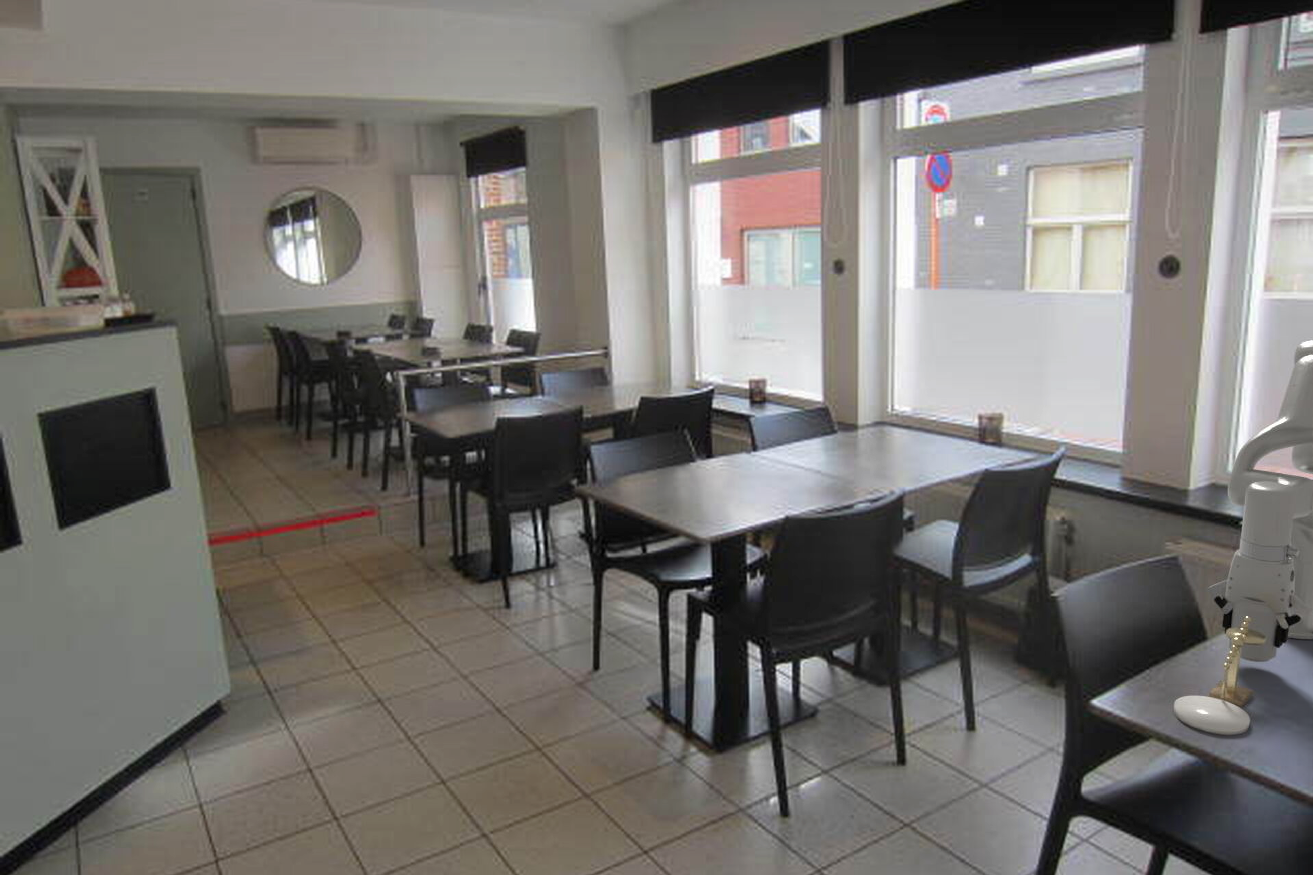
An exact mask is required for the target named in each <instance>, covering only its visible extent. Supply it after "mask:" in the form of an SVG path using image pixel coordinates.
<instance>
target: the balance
mask: <svg viewBox="0 0 1313 875" xmlns="http://www.w3.org/2000/svg"><path fill="white" fill-rule="evenodd" d="M1244 621H1245V622H1244V623H1242V627H1243V628H1229V629H1227V630H1226V634H1225V636H1226V637H1227V638H1228V639H1229V640H1230V639H1231V644H1232V646H1231V650H1230V651H1229V652H1228V653H1227V655H1228V657H1226V658H1225V663H1223V664H1222V669H1223V673H1222V674H1223V676H1222V681H1219V683H1218V684H1216V686H1214V687H1213V688H1212V689H1211V691H1210V692H1209V696H1208V697H1212V698H1216V699H1220V700H1223V701H1226V702H1229V703H1231V704H1233V705H1236V706H1237V707H1239V708H1242V707H1244V705H1245V704H1247V702H1248V701H1249V700H1250V698H1252V696H1253V690H1252V689H1249V688H1245V687H1241V686H1238V680H1239V679H1238V678H1239V670H1240V663H1241V658H1240V656H1241V648H1242V646H1243V644H1249V645H1261V644H1264V643H1265V642H1266V637H1265V636H1264V635H1263V634H1261V633H1259V632H1257V631H1254V630H1251V629H1248V628H1249V623H1250V622H1251V618H1250V617H1245V618H1244Z"/></svg>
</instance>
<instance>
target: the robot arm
mask: <svg viewBox="0 0 1313 875" xmlns="http://www.w3.org/2000/svg"><path fill="white" fill-rule="evenodd" d="M1294 352H1295V353H1294V359H1293V362H1294V363H1293V365H1294V367H1293V370H1292V371H1291V375H1290V378H1289V381H1288V385H1287V388H1286V392H1285V394H1284V398H1283V401H1282V402H1281V403H1282V404H1281V406H1280V409H1279V412H1278V413H1279V414H1278V417H1277V419H1276V421H1275V422H1274V423H1272V424H1270V425H1268V426H1267V427H1266V426H1265V428H1263V429H1261V430H1260V431H1258V432H1257V433H1256V434H1254V435H1253V436H1252V437H1251V438H1250V439H1248V440H1247V442H1245V443H1244V444H1243V446H1242V447H1241V449H1239V452H1238V454H1237V456H1236V459H1235V461H1234V464H1233V466H1232V470H1231V473H1230V477H1229V481H1228V485H1227V496H1228V499H1229V501H1230V502H1231V503H1232V504H1234V505H1235V506H1238V507H1240V508H1243V517H1242V523H1241V525H1242V526H1241V535H1240V540H1239V541H1240V542H1239V549H1236V551H1235V552H1234V555H1233V558H1232V561H1231V563H1230V567H1229V571H1228V575H1227V579H1226V580H1223V581H1219V582H1217V583H1214V584H1213V585H1210V586H1209V587H1208V588H1207V591H1208V593H1209V594H1210V595H1211V597H1212V598H1213V599H1214V600H1213V601H1214V603H1216V605H1217V606H1218V607H1219V609H1220V611H1221V613H1222V614H1223V616H1222V625H1221V626H1222V628H1224V634H1225V635H1226V630H1227V629H1229V628H1231V622H1232V613H1233V607H1234V604H1235V602H1238V601H1241V600H1243V599H1242V597H1244V598H1247V599H1249V600H1253V601H1257V602H1266V603H1268V604H1267V606H1268V607H1269V608H1270V609H1272V610H1273V611H1274V613H1275V614H1277V620H1278V622H1279V626H1278V627H1277V629H1276V637H1275V645H1274V646H1276V647H1277V649H1280V648H1281V646H1282V645H1283V644H1286V643H1287V642H1288V639H1289V638H1291V639H1297V640H1298V639H1299V640H1313V479H1311V478H1310V477H1309V478H1308V477H1305V476H1300V475H1293V474H1287V473H1286V474H1285V473H1281V472H1274V471H1269V470H1263V469H1255V467H1256V465H1257V464H1258V462H1259V461H1260V460H1261V459H1263V458H1265V456H1267V455H1269V454H1271V453H1274V452H1276V451H1280V450H1283V449H1287V448H1292V451H1291V463H1292V466H1293V467H1294V468H1295V469H1296V470H1298V471H1300V472H1302V473H1304V474H1305V473H1306V474H1310V475H1313V339H1309V340H1307V341H1303V342H1302V343H1300V344H1299V345H1297V347H1296V348H1295V351H1294ZM1224 589H1225V593H1224V594H1225V595H1224V596H1225V597H1224V596H1223V594H1222V593H1221V591H1223V590H1224Z"/></svg>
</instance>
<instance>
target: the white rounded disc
mask: <svg viewBox="0 0 1313 875" xmlns="http://www.w3.org/2000/svg"><path fill="white" fill-rule="evenodd" d="M1173 713H1174V715H1175V717H1176V718H1178V719H1179V720H1180V721H1181V722H1182V723H1184V724H1186V725H1188V726H1189V727H1191V728H1195V729H1197V730H1200V731H1203V732H1207V733H1211V734H1217V735H1223V736H1224V735H1225V736H1231V735H1233V736H1234V735H1240V734H1243V733H1245V732H1247V731H1248V730H1249V727H1250V722H1251V718H1250V716H1249V714H1248V713H1247V712H1246V711H1245V710H1244V709H1242V707H1238V706H1236V705H1233V704H1231V703H1229V702H1226V701H1223V700H1220V699H1216V698H1212V697H1209V696H1205V695H1204V696H1203V695H1185V696H1181V697H1179V698H1176V700H1174V704H1173Z"/></svg>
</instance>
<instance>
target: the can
mask: <svg viewBox="0 0 1313 875" xmlns="http://www.w3.org/2000/svg"><path fill="white" fill-rule="evenodd" d="M1242 599H1243V600H1241V601H1238V602H1235V604H1234V607H1233V613H1232V622H1231V628H1243V627H1242V623H1244V622H1245V621H1244V618H1245V617H1250V618H1251V622H1250V623H1249V628H1248V629H1251V630H1254V631H1257V632H1259V633H1261V634H1263V635H1264V636H1265V637H1266V642H1265V643H1264V644H1261V645H1249V644H1243V646H1242V648H1241V656H1240V659H1243V660H1245V661H1249V662H1255V663H1261V662H1262V663H1264V662H1268V661H1270V660H1273V659H1274V658H1276V656H1277V649H1278V648H1277V647H1276V646H1274V645H1275V637H1276V629H1277V627H1278V626H1279V622H1278V620H1277V614H1275V613H1274V611H1273V610H1272V609H1270V608H1269V607H1268V606H1267V604H1268V603H1266V602H1257V601H1253V600H1249V599H1247V598H1244V597H1242ZM1231 646H1232V644H1231V639H1230V638H1229V643H1228V648H1229V650H1230V651H1231Z"/></svg>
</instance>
